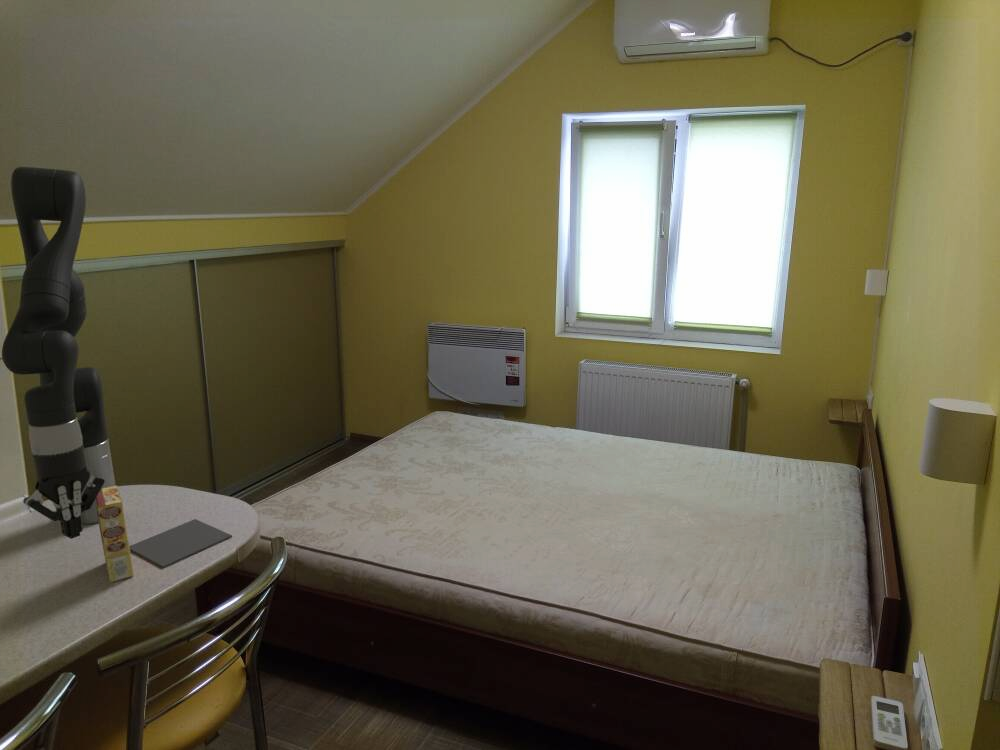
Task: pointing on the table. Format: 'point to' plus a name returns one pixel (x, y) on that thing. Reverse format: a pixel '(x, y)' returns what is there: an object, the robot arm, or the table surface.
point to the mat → (179, 543)
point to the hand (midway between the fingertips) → (73, 536)
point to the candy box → (114, 534)
